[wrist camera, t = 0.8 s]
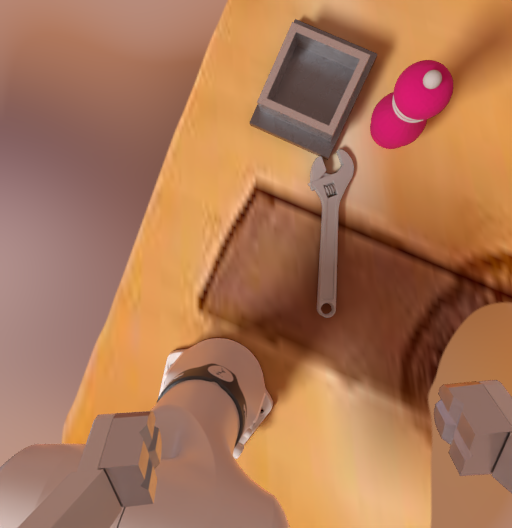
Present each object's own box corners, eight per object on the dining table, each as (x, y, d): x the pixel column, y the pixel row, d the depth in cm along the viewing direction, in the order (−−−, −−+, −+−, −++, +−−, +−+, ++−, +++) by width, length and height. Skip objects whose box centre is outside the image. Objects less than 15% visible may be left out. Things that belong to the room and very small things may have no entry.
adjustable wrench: (333, 316, 62) (336, 319, 61) (292, 313, 62) (294, 315, 60) (352, 155, 61) (356, 152, 60) (311, 149, 61) (314, 146, 59)
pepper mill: (390, 162, 60) (433, 129, 40) (356, 128, 60) (381, 78, 40) (427, 126, 59) (489, 73, 39) (392, 92, 59) (437, 22, 39)
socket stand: (327, 159, 61) (330, 153, 56) (250, 125, 62) (245, 115, 57) (375, 58, 59) (383, 40, 54) (295, 24, 60) (294, 3, 55)
